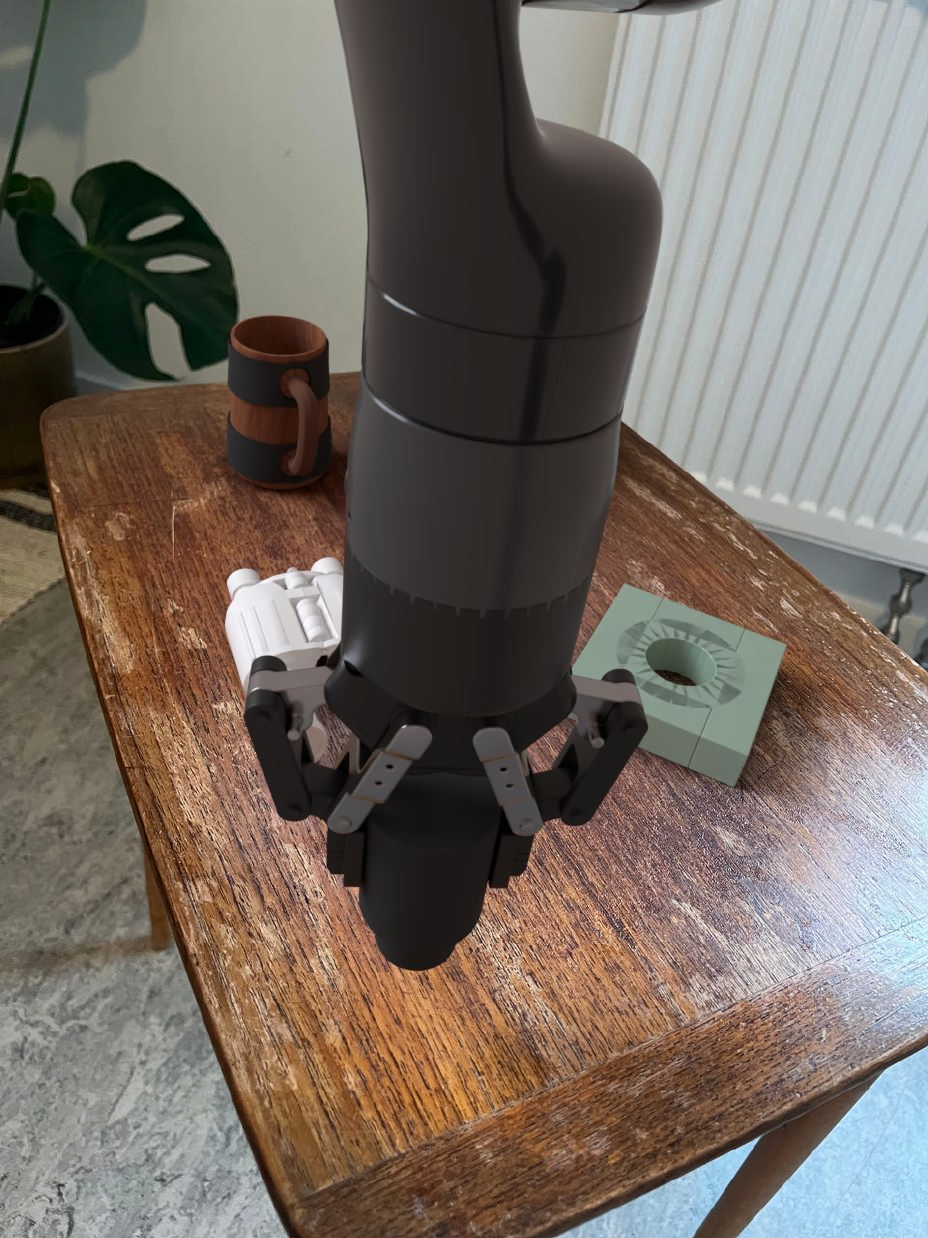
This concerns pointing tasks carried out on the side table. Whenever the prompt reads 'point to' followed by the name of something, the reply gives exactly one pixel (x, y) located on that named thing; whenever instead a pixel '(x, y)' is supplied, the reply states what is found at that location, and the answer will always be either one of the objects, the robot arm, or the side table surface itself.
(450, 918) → the stopper
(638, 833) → the side table surface
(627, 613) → the green block with hole
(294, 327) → the mug
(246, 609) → the binoculars
